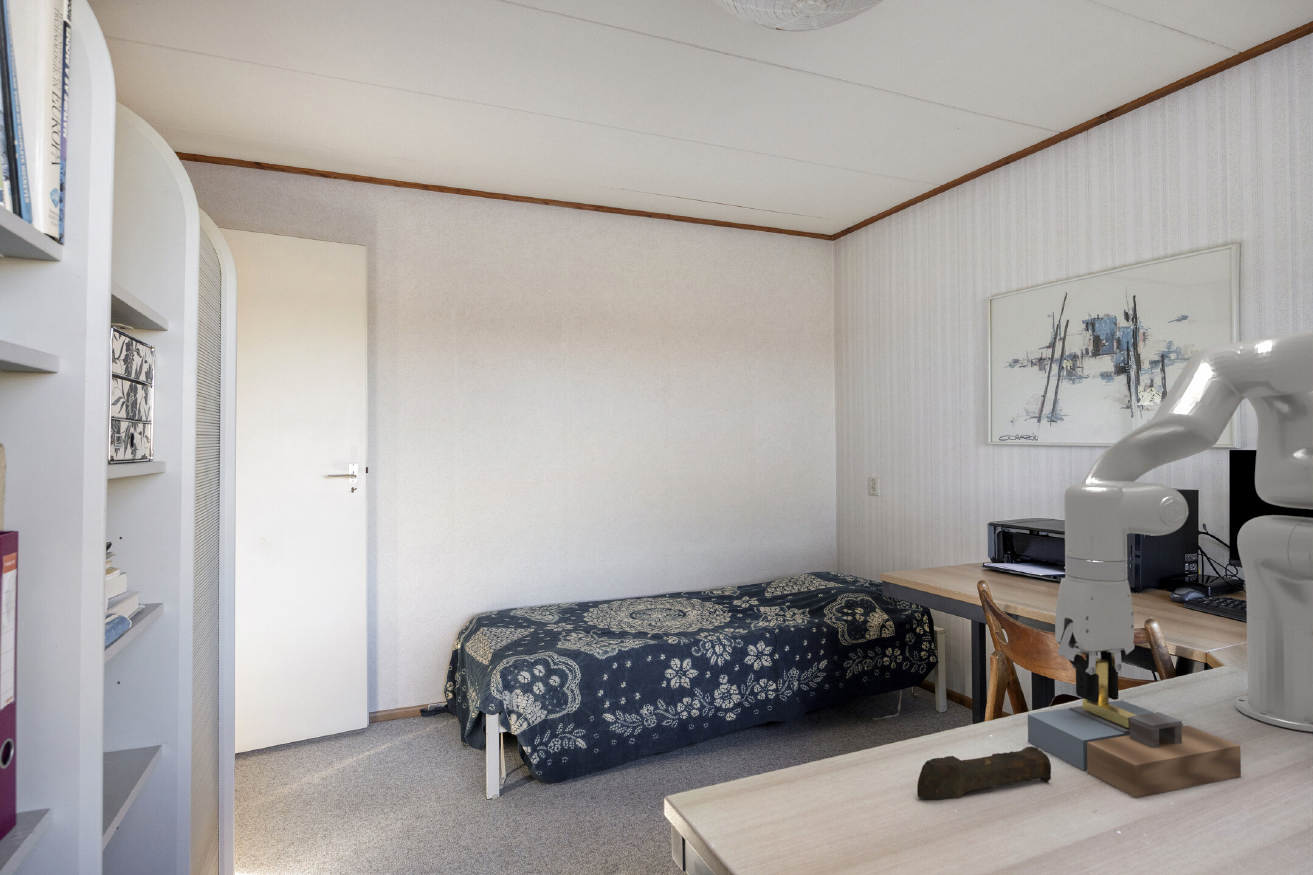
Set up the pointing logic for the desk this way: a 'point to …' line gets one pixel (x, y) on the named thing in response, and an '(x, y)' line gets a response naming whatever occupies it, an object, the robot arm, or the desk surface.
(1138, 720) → the door jamb
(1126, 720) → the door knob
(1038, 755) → the hand tool
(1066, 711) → the door leaf
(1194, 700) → the desk surface
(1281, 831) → the desk surface
